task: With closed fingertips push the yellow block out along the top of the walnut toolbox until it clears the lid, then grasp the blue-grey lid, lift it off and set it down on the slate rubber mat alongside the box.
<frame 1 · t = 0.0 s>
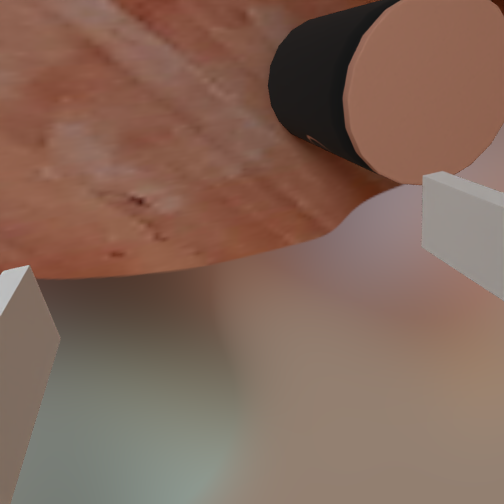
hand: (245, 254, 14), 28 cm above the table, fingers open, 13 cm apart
coffee jar: (318, 82, 41), on the table
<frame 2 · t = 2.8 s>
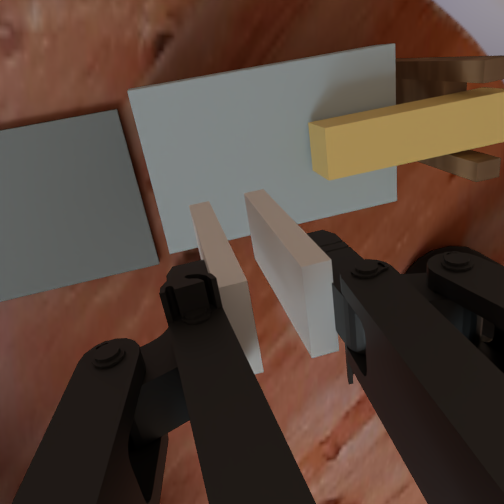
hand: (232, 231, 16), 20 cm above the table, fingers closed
mat: (32, 213, 34), on the table
yellow block: (410, 131, 26), point 11 cm above the table, slide at 0.0 cm
lid: (268, 145, 29), point 7 cm above the table, touching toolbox
coffee jar: (435, 286, 47), on the table
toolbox: (246, 131, 35), on the table
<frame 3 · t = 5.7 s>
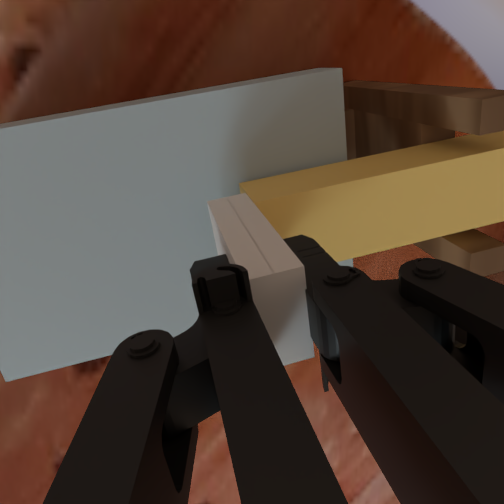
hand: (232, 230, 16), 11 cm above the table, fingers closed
yellow block: (396, 196, 17), point 11 cm above the table, slide at 1.3 cm, touching gripper
lid: (162, 214, 20), point 7 cm above the table, touching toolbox
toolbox: (157, 178, 26), on the table
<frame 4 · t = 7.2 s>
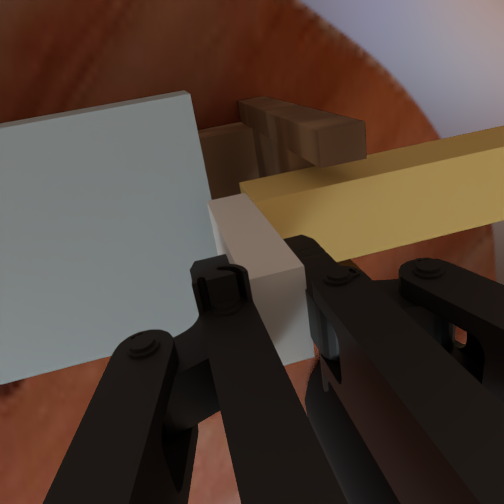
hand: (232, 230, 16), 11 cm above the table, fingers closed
yellow block: (397, 195, 17), point 11 cm above the table, slide at 7.2 cm, touching gripper
lid: (28, 244, 19), point 7 cm above the table, touching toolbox
coffee jar: (359, 377, 36), on the table
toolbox: (57, 199, 25), on the table
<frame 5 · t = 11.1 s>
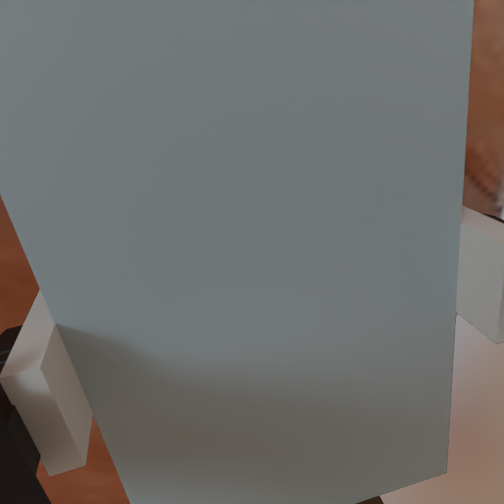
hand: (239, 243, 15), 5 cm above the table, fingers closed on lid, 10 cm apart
lid: (255, 273, 13), point 7 cm above the table, touching gripper, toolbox
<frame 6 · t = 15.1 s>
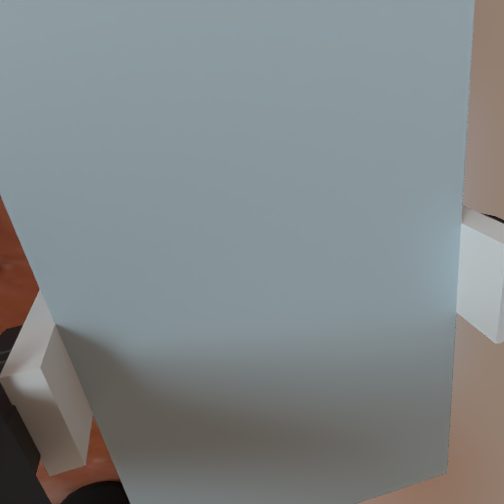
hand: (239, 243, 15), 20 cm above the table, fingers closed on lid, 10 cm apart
lid: (256, 273, 13), point 23 cm above the table, touching gripper
when the fingers open (1 cm above the table, at t = 18.9 s): lid drops 2 cm, resting on mat.
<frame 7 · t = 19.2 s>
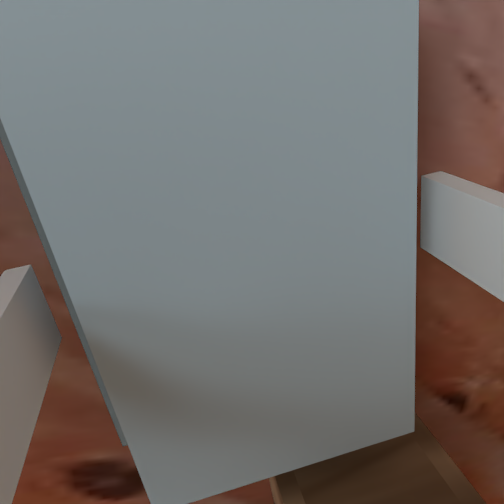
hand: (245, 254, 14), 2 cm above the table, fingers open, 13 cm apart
mat: (231, 228, 17), on the table
lid: (241, 249, 15), point 2 cm above the table, touching mat
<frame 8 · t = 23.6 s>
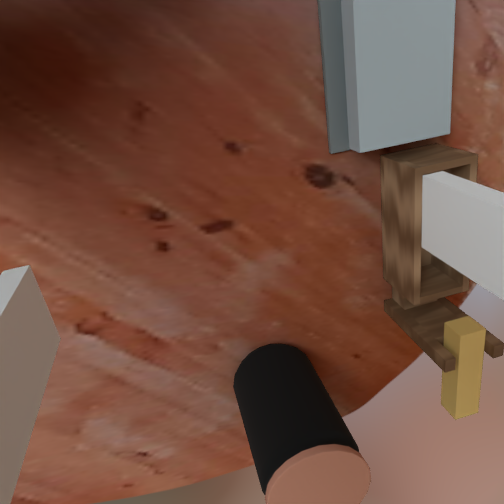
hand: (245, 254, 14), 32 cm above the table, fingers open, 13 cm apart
mat: (381, 58, 45), on the table
yellow block: (461, 368, 49), point 11 cm above the table, slide at 7.2 cm
lid: (391, 58, 43), point 2 cm above the table, touching mat
coffee jar: (270, 372, 58), on the table
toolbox: (408, 214, 53), on the table
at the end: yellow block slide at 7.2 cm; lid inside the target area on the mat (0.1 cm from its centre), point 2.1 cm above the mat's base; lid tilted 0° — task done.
